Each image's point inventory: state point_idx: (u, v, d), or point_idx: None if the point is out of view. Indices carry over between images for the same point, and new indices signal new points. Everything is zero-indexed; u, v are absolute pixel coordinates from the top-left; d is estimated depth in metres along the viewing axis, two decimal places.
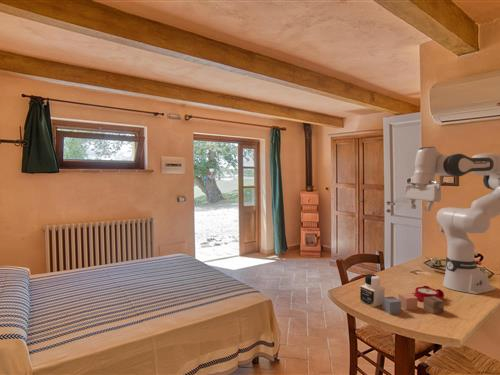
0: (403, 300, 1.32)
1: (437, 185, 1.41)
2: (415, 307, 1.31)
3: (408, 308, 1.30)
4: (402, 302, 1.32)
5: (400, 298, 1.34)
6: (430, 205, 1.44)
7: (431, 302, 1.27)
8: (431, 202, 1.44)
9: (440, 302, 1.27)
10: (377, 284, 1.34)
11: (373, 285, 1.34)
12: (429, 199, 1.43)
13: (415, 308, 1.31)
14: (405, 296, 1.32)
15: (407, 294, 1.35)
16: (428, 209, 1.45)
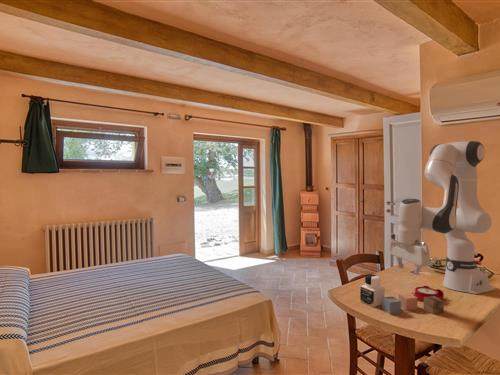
0: (403, 300, 1.32)
1: (424, 248, 1.22)
2: (415, 307, 1.31)
3: (408, 308, 1.30)
4: (402, 302, 1.32)
5: (400, 298, 1.34)
6: (418, 269, 1.26)
7: (431, 302, 1.27)
8: (419, 265, 1.26)
9: (440, 302, 1.27)
10: (377, 284, 1.34)
11: (373, 285, 1.34)
12: (416, 263, 1.25)
13: (415, 308, 1.31)
14: (405, 296, 1.32)
15: (407, 294, 1.35)
16: (416, 273, 1.27)
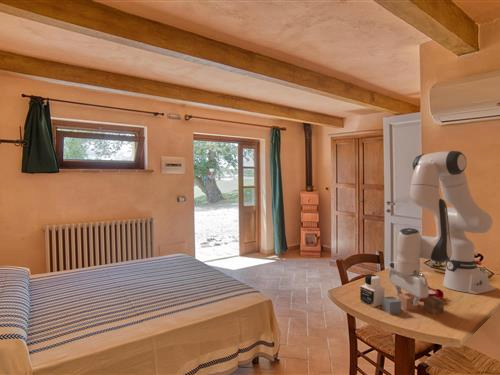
0: (403, 300, 1.32)
1: (423, 279, 1.23)
2: (415, 307, 1.31)
3: (408, 308, 1.30)
4: (402, 302, 1.32)
5: (400, 298, 1.34)
6: (417, 299, 1.27)
7: (431, 302, 1.27)
8: (418, 296, 1.26)
9: (440, 302, 1.27)
10: (377, 284, 1.34)
11: (373, 285, 1.34)
12: (415, 294, 1.25)
13: (415, 308, 1.31)
14: (405, 296, 1.32)
15: (407, 294, 1.35)
16: (415, 304, 1.27)
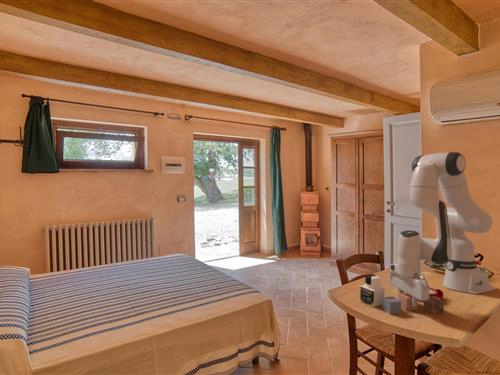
0: (403, 300, 1.32)
1: (423, 282, 1.23)
2: (415, 307, 1.31)
3: (408, 308, 1.30)
4: (402, 302, 1.32)
5: (400, 298, 1.34)
6: (415, 300, 1.28)
7: (431, 302, 1.27)
8: (416, 297, 1.28)
9: (440, 302, 1.27)
10: (377, 284, 1.34)
11: (373, 285, 1.34)
12: (416, 297, 1.25)
13: (415, 308, 1.31)
14: (405, 296, 1.32)
15: None
16: (413, 304, 1.29)
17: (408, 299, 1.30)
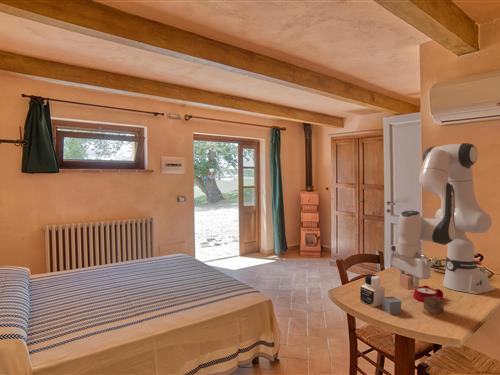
0: (404, 280, 1.31)
1: (425, 260, 1.23)
2: (416, 286, 1.30)
3: (409, 288, 1.30)
4: (403, 282, 1.32)
5: (401, 278, 1.33)
6: (417, 280, 1.28)
7: (431, 302, 1.27)
8: (417, 277, 1.27)
9: (440, 302, 1.27)
10: (377, 284, 1.34)
11: (373, 285, 1.34)
12: (417, 276, 1.25)
13: (416, 287, 1.30)
14: (406, 276, 1.31)
15: (408, 274, 1.34)
16: (415, 284, 1.29)
17: (409, 279, 1.30)
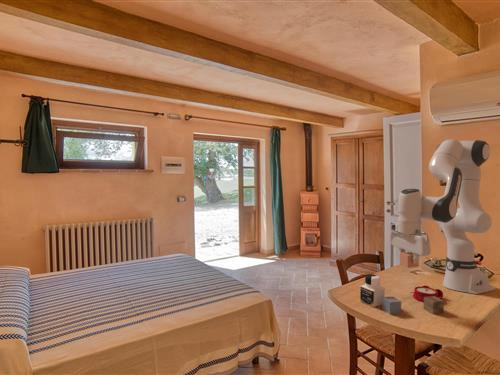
0: (404, 258, 1.31)
1: (425, 237, 1.22)
2: (416, 264, 1.30)
3: (409, 265, 1.29)
4: (403, 260, 1.32)
5: (401, 256, 1.33)
6: (417, 257, 1.28)
7: (431, 302, 1.27)
8: (417, 254, 1.27)
9: (440, 302, 1.27)
10: (377, 284, 1.34)
11: (373, 285, 1.34)
12: (417, 253, 1.25)
13: (416, 265, 1.30)
14: (406, 254, 1.31)
15: (408, 252, 1.34)
16: (415, 262, 1.28)
17: (409, 256, 1.29)
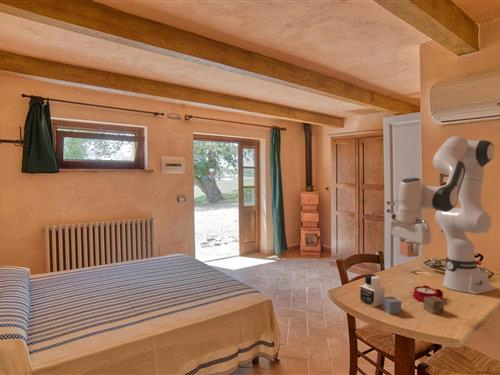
0: (404, 247, 1.31)
1: (425, 225, 1.22)
2: (416, 254, 1.30)
3: (409, 254, 1.29)
4: (403, 249, 1.31)
5: (401, 246, 1.33)
6: (417, 246, 1.27)
7: (431, 302, 1.27)
8: (417, 243, 1.27)
9: (440, 302, 1.27)
10: (377, 284, 1.34)
11: (373, 285, 1.34)
12: (417, 241, 1.24)
13: (416, 255, 1.30)
14: (406, 243, 1.31)
15: (408, 242, 1.34)
16: (415, 250, 1.28)
17: (409, 245, 1.29)
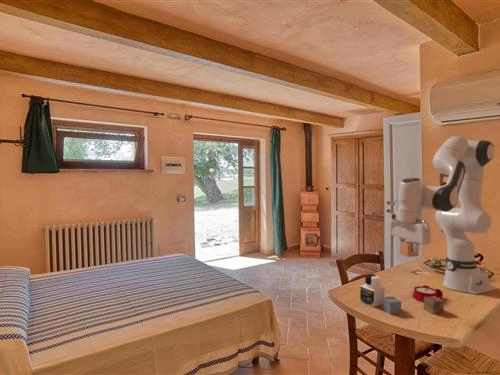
0: (404, 247, 1.31)
1: (425, 225, 1.22)
2: (416, 254, 1.30)
3: (409, 254, 1.29)
4: (403, 249, 1.31)
5: (401, 246, 1.33)
6: (417, 246, 1.27)
7: (431, 302, 1.27)
8: (417, 243, 1.27)
9: (440, 302, 1.27)
10: (377, 284, 1.34)
11: (373, 285, 1.34)
12: (417, 241, 1.24)
13: (416, 255, 1.30)
14: (406, 243, 1.31)
15: (408, 242, 1.34)
16: (415, 250, 1.28)
17: (409, 245, 1.29)
